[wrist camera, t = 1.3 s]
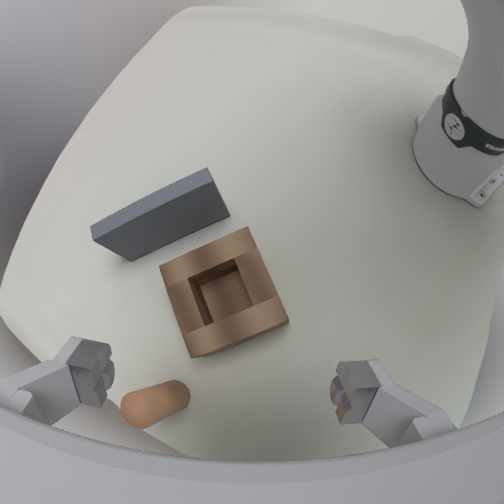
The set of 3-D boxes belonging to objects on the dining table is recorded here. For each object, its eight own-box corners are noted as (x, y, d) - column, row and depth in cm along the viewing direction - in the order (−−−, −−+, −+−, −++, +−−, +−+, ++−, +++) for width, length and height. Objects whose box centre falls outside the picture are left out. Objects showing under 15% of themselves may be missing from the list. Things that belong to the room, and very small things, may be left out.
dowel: (183, 376, 37) (145, 387, 26) (194, 404, 36) (160, 424, 25) (157, 384, 37) (115, 396, 26) (168, 411, 36) (129, 431, 25)
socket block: (254, 245, 40) (247, 226, 34) (289, 322, 37) (288, 319, 30) (179, 278, 40) (158, 265, 34) (208, 355, 37) (191, 358, 30)
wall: (225, 203, 43) (207, 167, 33) (230, 215, 42) (212, 180, 33) (128, 249, 43) (90, 226, 33) (131, 261, 42) (92, 240, 33)
